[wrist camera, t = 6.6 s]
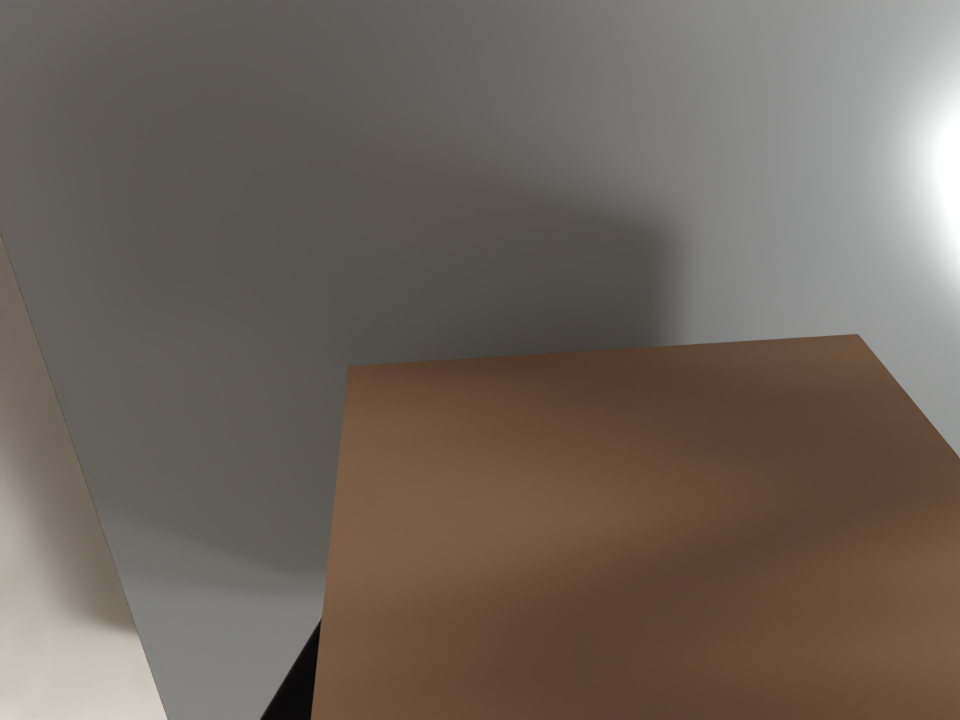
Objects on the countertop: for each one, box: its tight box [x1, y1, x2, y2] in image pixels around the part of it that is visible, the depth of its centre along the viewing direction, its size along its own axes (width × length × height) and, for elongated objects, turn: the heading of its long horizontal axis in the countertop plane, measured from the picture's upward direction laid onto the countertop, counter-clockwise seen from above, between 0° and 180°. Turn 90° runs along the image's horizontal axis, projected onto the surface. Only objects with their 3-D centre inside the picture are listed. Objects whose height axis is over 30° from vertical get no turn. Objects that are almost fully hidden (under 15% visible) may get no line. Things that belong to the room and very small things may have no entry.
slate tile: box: [0, 0, 960, 720], centre depth 12 cm, size 12×12×2 cm
